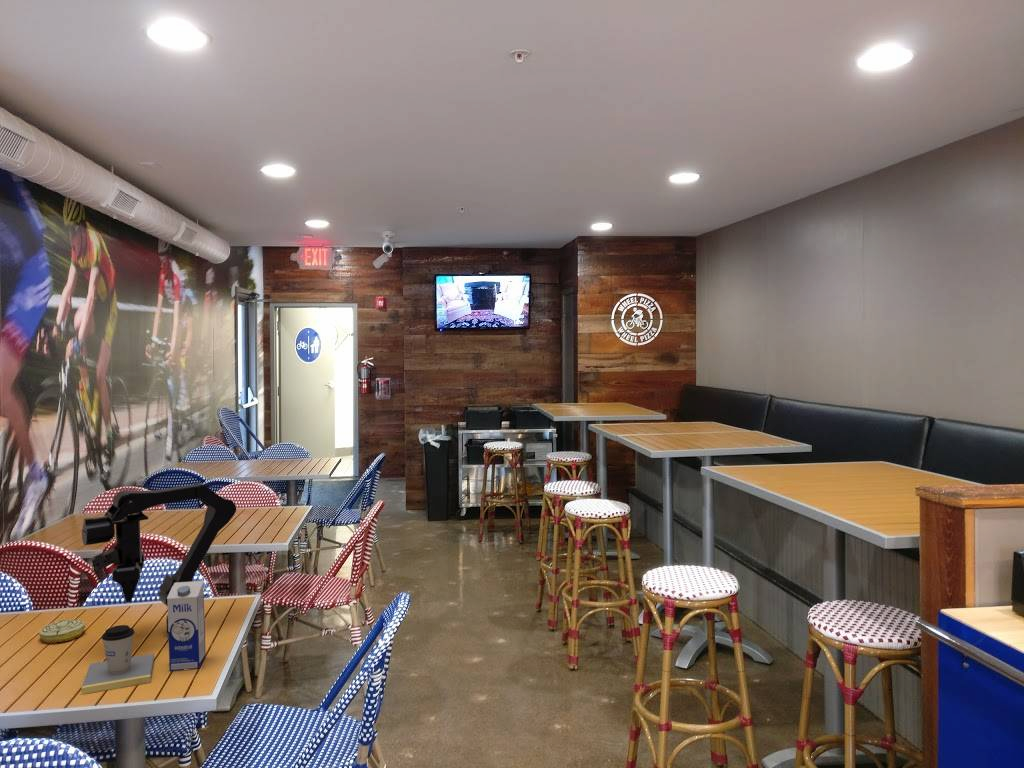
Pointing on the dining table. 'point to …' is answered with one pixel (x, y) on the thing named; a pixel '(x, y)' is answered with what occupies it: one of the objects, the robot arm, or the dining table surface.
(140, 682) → the dock
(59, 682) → the dining table surface
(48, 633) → the decorated donut
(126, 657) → the coffee cup
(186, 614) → the milk carton
